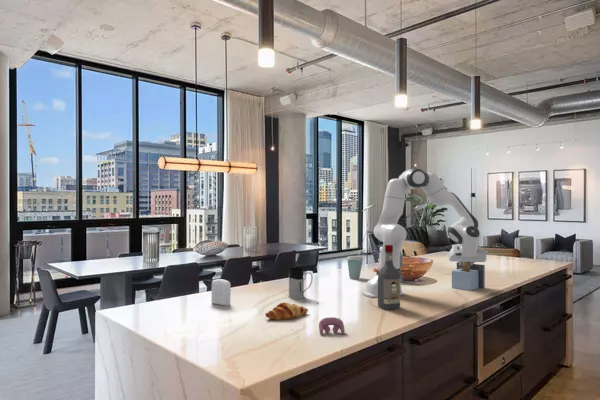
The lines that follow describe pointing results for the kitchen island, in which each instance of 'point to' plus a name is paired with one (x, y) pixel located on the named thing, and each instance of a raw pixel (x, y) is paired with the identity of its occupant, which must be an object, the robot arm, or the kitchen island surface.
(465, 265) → the dowel
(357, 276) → the disposable coffee cup
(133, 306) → the kitchen island surface
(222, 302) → the gravestone
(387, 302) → the liquor
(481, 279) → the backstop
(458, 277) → the socket block
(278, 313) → the croissant
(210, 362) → the kitchen island surface
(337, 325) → the video game controller
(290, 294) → the grey mug
